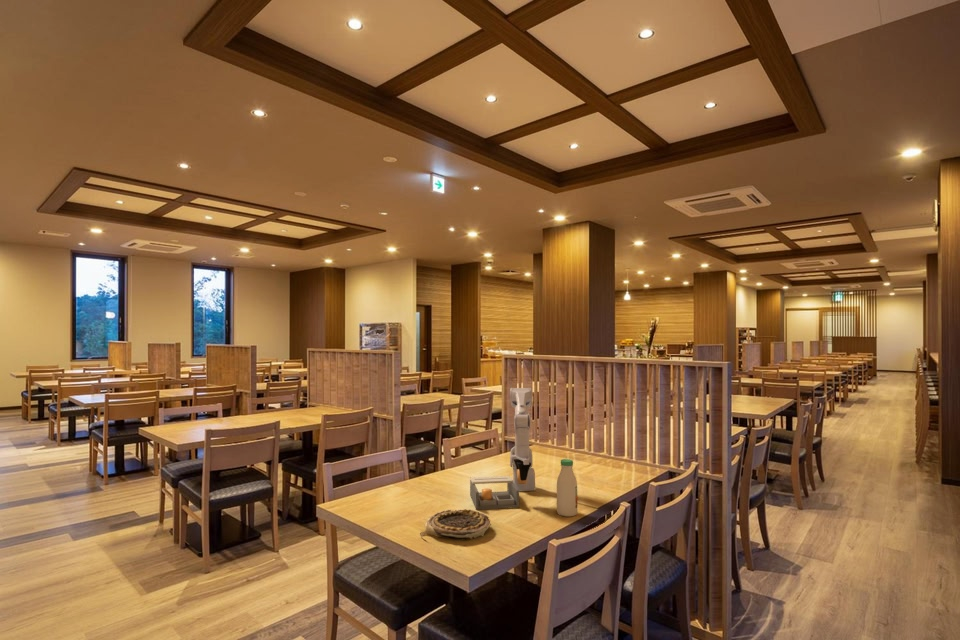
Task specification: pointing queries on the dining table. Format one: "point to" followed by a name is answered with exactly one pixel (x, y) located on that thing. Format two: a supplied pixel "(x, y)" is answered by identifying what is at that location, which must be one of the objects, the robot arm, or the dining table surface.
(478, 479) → the lid
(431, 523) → the pie
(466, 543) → the dining table surface
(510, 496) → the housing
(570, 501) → the milk bottle
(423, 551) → the dining table surface
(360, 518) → the dining table surface
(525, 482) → the orange rounded block
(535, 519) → the dining table surface
